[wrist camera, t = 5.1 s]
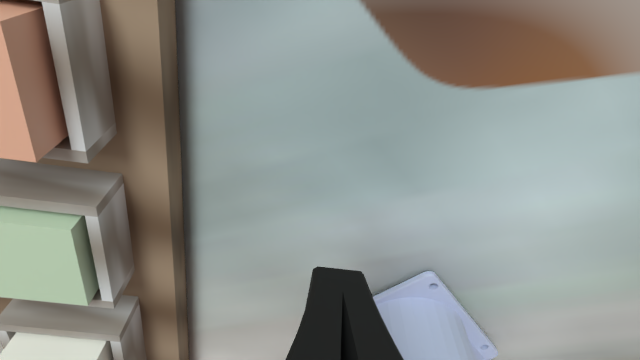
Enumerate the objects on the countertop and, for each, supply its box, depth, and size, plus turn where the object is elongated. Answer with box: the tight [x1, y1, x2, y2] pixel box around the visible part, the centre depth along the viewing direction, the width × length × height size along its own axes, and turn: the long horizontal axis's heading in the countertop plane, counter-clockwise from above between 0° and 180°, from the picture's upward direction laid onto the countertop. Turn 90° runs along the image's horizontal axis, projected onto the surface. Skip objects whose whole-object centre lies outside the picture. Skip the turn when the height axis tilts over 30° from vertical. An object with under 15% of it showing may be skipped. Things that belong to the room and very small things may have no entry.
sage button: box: [0, 206, 99, 306], centre depth 18 cm, size 4×4×3 cm
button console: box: [0, 0, 189, 360], centre depth 19 cm, size 28×10×4 cm, turn 172°
